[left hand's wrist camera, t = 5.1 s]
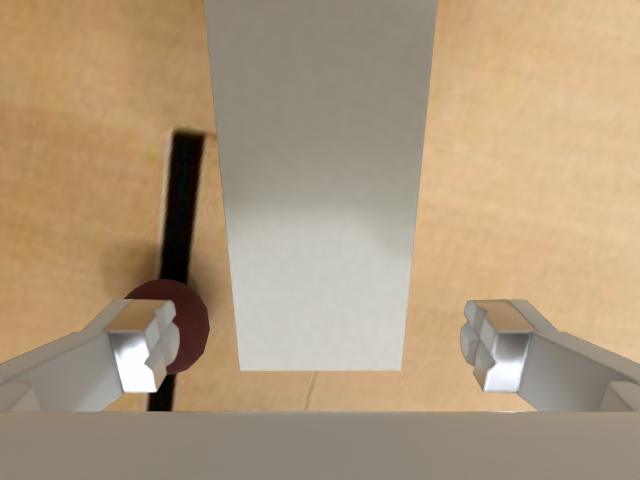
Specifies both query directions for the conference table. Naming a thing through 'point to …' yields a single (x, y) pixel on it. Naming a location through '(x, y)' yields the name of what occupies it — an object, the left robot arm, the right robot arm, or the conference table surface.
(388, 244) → the box
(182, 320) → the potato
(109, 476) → the left robot arm
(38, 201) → the conference table surface
